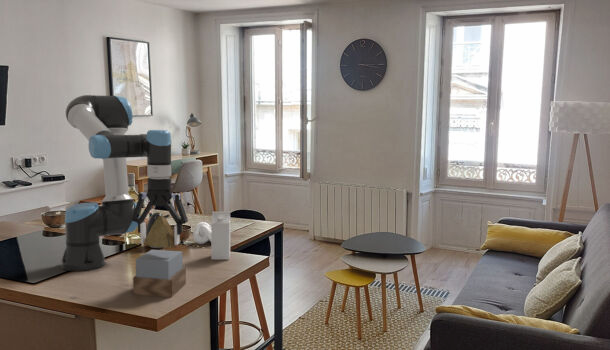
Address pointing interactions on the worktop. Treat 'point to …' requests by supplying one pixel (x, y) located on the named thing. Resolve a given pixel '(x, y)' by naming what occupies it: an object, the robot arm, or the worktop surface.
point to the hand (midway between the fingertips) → (160, 243)
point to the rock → (160, 234)
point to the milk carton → (220, 236)
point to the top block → (159, 264)
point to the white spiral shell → (202, 233)
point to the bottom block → (159, 285)
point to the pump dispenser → (152, 220)
